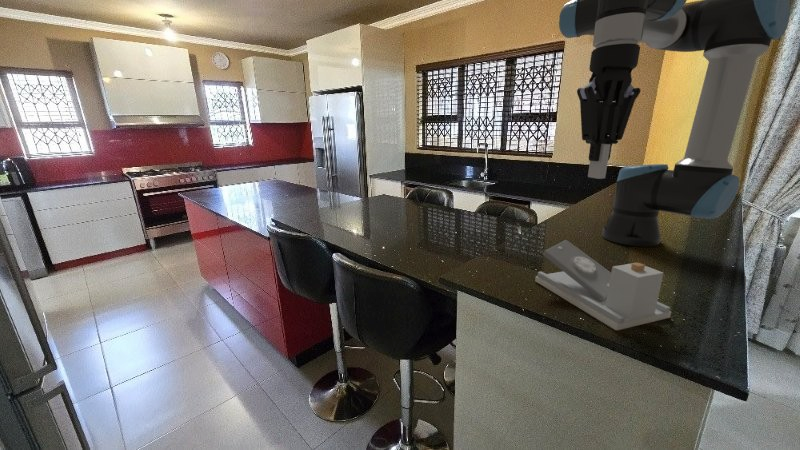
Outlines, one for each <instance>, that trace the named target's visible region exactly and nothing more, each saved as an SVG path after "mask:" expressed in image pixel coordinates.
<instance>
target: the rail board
mask: <svg viewBox="0 0 800 450" xmlns="http://www.w3.org/2000/svg"><path fill="white" fill-rule="evenodd" d="M610 272H611V278H610V283H609V289H608V295H607V299H605V300H604V301H603V302H601V301H600V300H598V299H597V298H596V297H595V296H594V295H592V294H591V293H590V292H589V291H587V290H586V289H585V288H584V287H582V286H581V285H580V284H579V283H577V282H576V281H575V280H574V279H572V278H571V277H570V276H569V275H567V274H566V273H565V272H564V271H557V272H552V273H545V272H543V271H538V272H537V275H536V276H535V280H534V282H535V283H538V284H539V285H541V286H543V287H544V288H546V289H547V290H548V291H550V292H552V293H553V294H556V295H557V296H559V297H560V298H562V299H563V300H565V301H567V302H568V303H570V304H572V305H573V306H576V307H577V308H579V309H580V310H582V311H584V313H586V314H588V315H590V316H591V317H593V318H594V319H596V320H598V321H600V322H601V323H603V324H605V325H606V326H608V327H609V328H611V329H613V330H615V331H621V330H625V329H629V328H633V327H636V326H637V327H638V326H640V325H645V324H649V323H653V322H658V321H661V320H665V319H666V320H667V319H670V318H671V315H672V311H671V307H670V306H668V305H666V304H664V303H662V302H660V301H658V300H659V297H660V292H661V291H660V290H661V285H662V281H663V276H664V273H665V272H662V271H660V270H657V269H656V268H652V267H649V266H646V264H643V263H641V262H632V263H626V264H620V265H613V266H612V267H611V271H610ZM572 281H573V282H572Z"/></svg>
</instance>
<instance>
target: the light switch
mask: <svg viewBox="0 0 800 450" xmlns="http://www.w3.org/2000/svg"><path fill="white" fill-rule="evenodd" d="M542 255H543V257H545V258H546V259H548V261H550V262H551V263H552V264H553V265H555V266H556V267H557V268H559V270H561V272H563V271H564V272H565V273H566V274H567V275H569V276H570V277H571V278H572V279H574V280H575V281H576V282H577V283H579V284H580V285H581V286H582V287H584V288H585V289H586V290H587V291H589V292H590V293H591V294H592V295H594V296H595V297H596V298H597V299H598V300H600V301H601V302H603V301H604V300H605V299H607V295H608V289H609V283H610V278H611V272H612V271H609V270H608V269H606V268H605V267H604V266H603V265H602V264H600V263H599V262H597V261H596V260H595V259H593V257H590V256H589V255H587V254H586V253H585V252H583V251H582V250H581V249H580V248H578V247H577V246H575V245H574V244H572V242H570V241H569V240H567V239H564V240H563V241H560V242H559V243H556V244H555V245H552V246H551V247H549V248H548V249H545V250H544V251H543V252H542ZM572 282H573V281H572Z"/></svg>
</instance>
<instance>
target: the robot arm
mask: <svg viewBox="0 0 800 450" xmlns="http://www.w3.org/2000/svg"><path fill="white" fill-rule="evenodd" d="M687 1H688V0H570V1H569V2H567V3H565V4H564V5H563V6H562V9H561V10H560V13H559V16H558V17H559V20H558V27H559V31H560V33H561V34H562V36H563V37H565V38H566V39H573V38H580V37H582V36H587V35H588V36H593V41H592V47H593V48H594V49H592V51H591V53H590V61H589V68H588V69H589V71H590V72H591V73H592V74H591V76H590V78H589V80H588V83H587V84H586V85H585V86H582V87H578V89H577V90H576V94H577V97H578V98H579V107H580V124H581V127H580V129H581V139H582V141H585V143H586V144H589V145H590V146H589V153H588V161H589V166H588V173H587V178H591V179H596V180H597V179H599V180H602V179H606V176H607V175H606V174H607V168H608V163H609V160H610V158H611V155H612V154H611V153H612V146H613V145H617V144H618V143H619V141H621V140H623V137H624V134H625V132H626V128H627V124H628V123H629V119H630V117H631V113H632V110H633V107H634V106H635V105H634V104H635V102H636V100H637V98H638V97H639V95H640V94H641V88H640V87H634V86H633V84H632V81H633V78H632V71H633V70H634V69H636V68H637V66H638V64H639V59H640V51H641V46H640V45H639V43H644V44H646V46H647V47H648V48H651V49H654V50H659V51H669V52H679V53H680V52H681V53H689V52H691V53H693V52H701V51H703V54H702V55H703V57H704V59H706V60H707V61H708V63H707V67H706V73H705V75H704V79H703V83H702V86H701V87H702V88H701V91H700V95H699V99H698V102H697V106H696V109H695V114H694V118H693V121H692V126H691V130H690V134H689V136H688V141H687V144H686V145H687V146H686V148H685V153H684V156H683V158H682V159H680V160H679V161H677V162H675V164H674V167H673V170H672V169H669V165H668V164H667V163H666V164H664V163H661V164H660V163H659V164H658V163H657V164H656V163H655V164H654V163H653V164H640V165H639V164H638V165H626V166H623V167H622V168H620V169H619V172H618V176H617V180H616V185H615V186H616V187H615V193H614V199H613V200H614V201H613V204H612V205H613V206H612V212H611V214H610V216H609V217H608V219H607V221H606V223H605V225H604V227H603V228H602V233H601V236H602V238H604V239H605V240H607V241H609V242H613V243H616V244H621V245H624V246H632V247H641V248H642V247H643V248H645V247H646V248H647V247H648V248H649V247H650V248H651V247H655V246H659V245H660V244H661V239H662V234H661V230H660V224H659V220H658V219H659V218H658V217H659V212H664V213H665V212H666V213H669V214H676V215H683V216H689V217H690V218H691V217H692V218H699V219H709V220H713V219H716V218H719V217H720V216H722V215H723V214H724V213H726V211H727V210H728V209H729V208H730V206H731V204H732V203H733V201H734V200H735V197H736V196H737V194H738V192H739V188H740V185H739V184H740V181H741V180H740V178H739V176H738V175H736V174H733V171H734V167H733V166H732V164H731V163H730V162H729V161H728V160H729V156H730V152H731V149H732V145H733V143H734V138H735V135H736V131H737V129H738V125H739V121H740V118H741V114H742V111H743V108H744V104H745V100H746V98H747V97H746V96H747V93H748V90H749V87H750V83H751V80H752V75H753V74H754V70H755V67H756V64H757V63H756V62H757V59H758V58H759V57H760V56H762V55H763V54H765V53H766V52H768V51H769V48H770V45H771V42H772V40H773V41H775V40H777V39H779V38H782V37H783V36H784V35H785V33H786V30H788V29H787V28H788V26H789V21H790V15H791V14H790V13H791V1H790V0H701V1H697V2H694V3H691V4H686V3H687ZM685 4H686V5H685Z"/></svg>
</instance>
